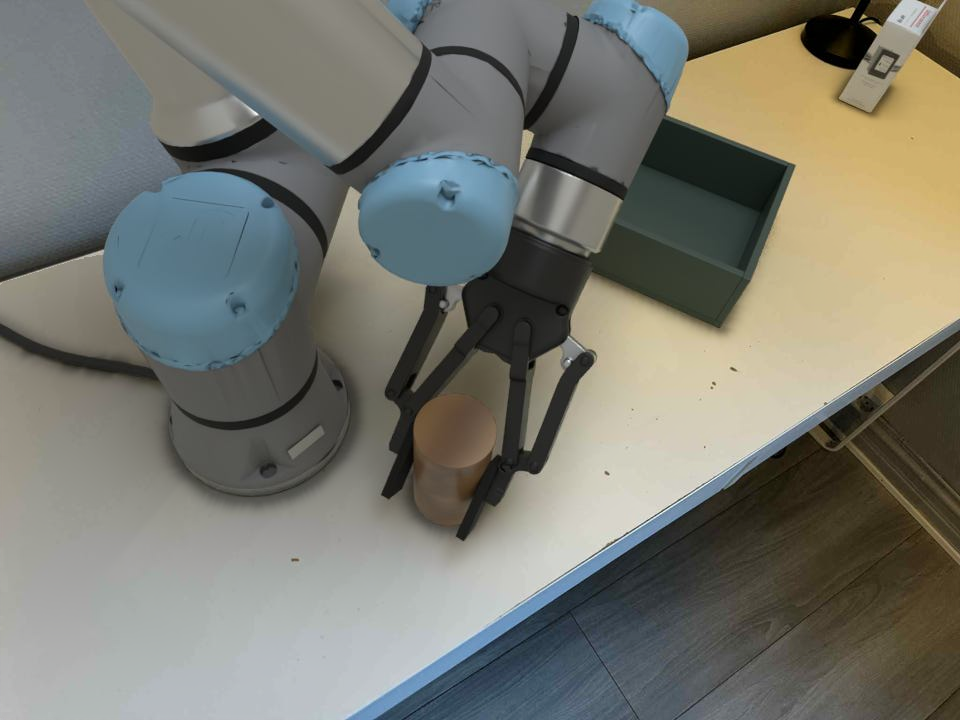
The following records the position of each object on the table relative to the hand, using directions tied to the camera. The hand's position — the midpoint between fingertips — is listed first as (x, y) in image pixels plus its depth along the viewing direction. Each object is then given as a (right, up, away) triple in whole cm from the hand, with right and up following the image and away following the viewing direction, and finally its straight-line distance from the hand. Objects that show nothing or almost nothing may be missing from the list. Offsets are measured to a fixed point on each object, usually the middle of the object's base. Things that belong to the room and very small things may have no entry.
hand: (427, 511), depth 52 cm
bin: (+24, +27, +25) cm, 44 cm away
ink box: (+60, +50, +44) cm, 89 cm away
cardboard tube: (+1, 0, +5) cm, 5 cm away
